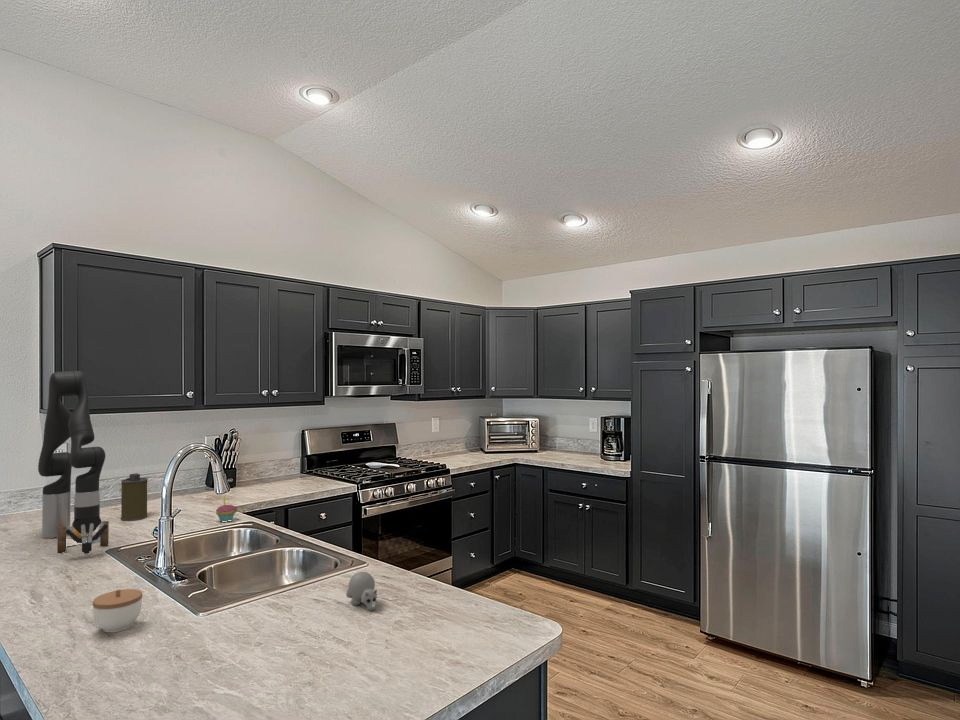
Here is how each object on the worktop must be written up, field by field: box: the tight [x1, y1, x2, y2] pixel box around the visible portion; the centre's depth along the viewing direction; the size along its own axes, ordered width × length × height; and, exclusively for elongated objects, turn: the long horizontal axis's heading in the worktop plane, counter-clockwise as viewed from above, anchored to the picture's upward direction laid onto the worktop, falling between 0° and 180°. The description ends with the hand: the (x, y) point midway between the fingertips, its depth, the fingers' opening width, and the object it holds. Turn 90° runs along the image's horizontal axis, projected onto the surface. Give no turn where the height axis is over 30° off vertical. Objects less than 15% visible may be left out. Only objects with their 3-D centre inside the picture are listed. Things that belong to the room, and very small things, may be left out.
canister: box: [120, 472, 148, 522], centre depth 264 cm, size 11×10×20 cm
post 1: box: [56, 527, 67, 554], centre depth 212 cm, size 3×3×9 cm
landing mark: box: [70, 534, 100, 544], centre depth 227 cm, size 13×13×1 cm
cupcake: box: [215, 494, 238, 521], centre depth 257 cm, size 9×8×12 cm
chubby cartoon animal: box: [345, 571, 378, 612], centre depth 160 cm, size 7×12×8 cm, turn 36°
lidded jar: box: [92, 588, 143, 634], centre depth 148 cm, size 11×11×9 cm
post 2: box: [99, 520, 110, 547], centre depth 220 cm, size 3×3×9 cm
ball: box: [73, 528, 88, 538], centre depth 231 cm, size 6×6×6 cm
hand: (86, 553), depth 206 cm, fingers closed
